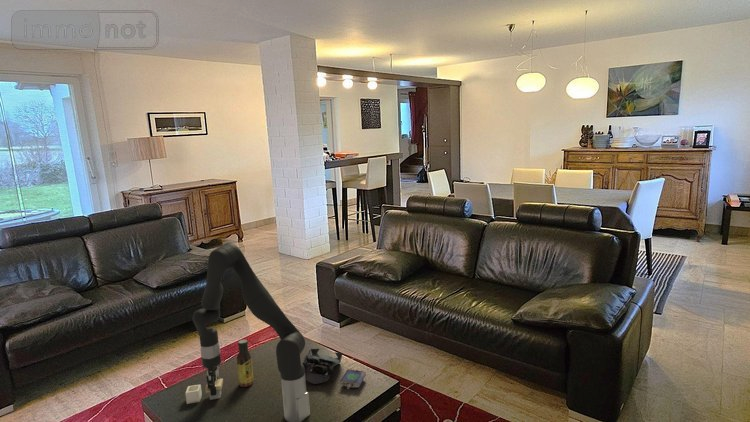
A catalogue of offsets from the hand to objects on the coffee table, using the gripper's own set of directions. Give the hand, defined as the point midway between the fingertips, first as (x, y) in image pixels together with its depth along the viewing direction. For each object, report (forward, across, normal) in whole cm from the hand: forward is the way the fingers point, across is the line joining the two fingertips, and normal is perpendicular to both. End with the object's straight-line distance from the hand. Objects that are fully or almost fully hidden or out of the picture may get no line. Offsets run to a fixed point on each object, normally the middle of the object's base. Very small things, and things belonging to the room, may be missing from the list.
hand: (215, 390), depth 179 cm
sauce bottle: (+3, -6, +12) cm, 14 cm away
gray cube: (+3, 0, 0) cm, 3 cm away
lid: (-1, 0, 0) cm, 1 cm away
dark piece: (+3, -6, +45) cm, 45 cm away
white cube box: (+3, 0, -8) cm, 9 cm away
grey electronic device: (+3, +2, +60) cm, 60 cm away
